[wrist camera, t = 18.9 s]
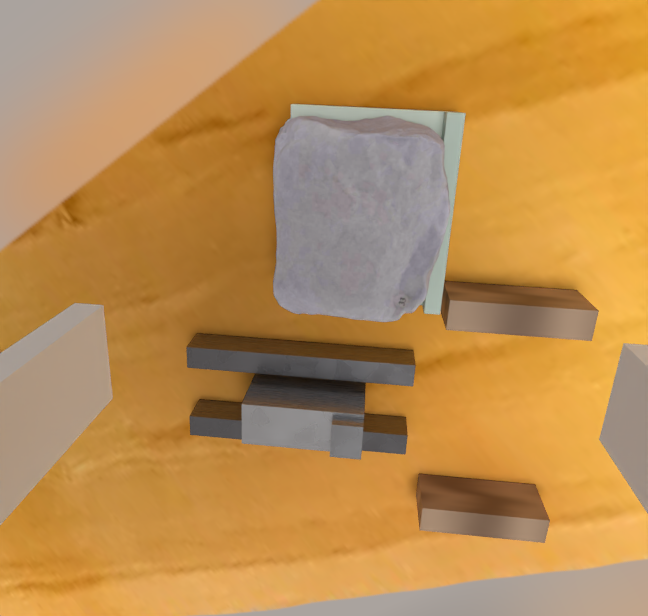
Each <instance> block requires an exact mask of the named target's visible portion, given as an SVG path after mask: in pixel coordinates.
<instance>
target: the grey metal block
mask: <svg viewBox="0 0 648 616" xmlns="http://www.w3.org/2000/svg"><path fill="white" fill-rule="evenodd" d="M365 384H366V382H355V381H343V380H331V379H319V378H307V377H295V376H283V375H271V374H259V373H255V375H254V378H253V380H252V382H251V384H250V386H249V389H248V391H247V393H246V395H245V398H244V400H243V402H242V443H244V444H255V445H266V446H277V447H287V448H298V449H309V450H320V451H330V457H339V458H350V459H361V451H362V439H363V425H364V406H365Z"/></svg>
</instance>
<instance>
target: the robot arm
mask: <svg viewBox="0 0 648 616" xmlns="http://www.w3.org/2000/svg"><path fill="white" fill-rule="evenodd" d="M112 399H113V396H112V386H111V376H110V366H109V356H108V346H107V336H106V326H105V316H104V306H103V305H95V304H81V303H74V304H73V305H71V306H70V307H68V308H67V309H65V310H64V311H62V312H61V313H59V314H58V315H56V316H55V317H53V318H52V319H50V320H49V321H47V322H46V323H45V324H43V325H42V326H40V327H39V328H37V329H36V330H34V331H33V332H31V333H30V334H28V335H27V336H25V337H24V338H22V339H21V340H19V341H18V342H16V343H15V344H13V345H12V346H10V347H9V348H7V349H6V350H4V351H3V352H1V353H0V525H1V524H2V523H3V522H4V521H5V519H6V518H7V517H8V516H9V515H10V514H11V513H12V512H13V510H14V509H15V508H16V507H17V506H18V505H19V504H20V502H21V501H22V500H23V499H24V498H25V497H26V496H27V495H28V493H29V492H30V491H31V490H32V489H33V488H34V487H35V486H36V484H37V483H38V482H39V481H40V480H41V479H42V478H43V476H44V475H45V474H46V473H47V472H48V471H49V470H50V469H51V467H52V466H53V465H54V464H55V463H56V462H57V461H58V460H59V458H60V457H61V456H62V455H63V454H64V453H65V452H66V451H67V449H68V448H69V447H70V446H71V445H72V444H73V443H74V441H75V440H76V439H77V438H78V437H79V436H80V435H81V434H82V432H83V431H84V430H85V429H86V428H87V427H88V426H89V425H90V423H91V422H92V421H93V420H94V419H95V418H96V417H97V415H98V414H99V413H100V412H101V411H102V410H103V409H104V408H105V406H106V405H107V404H108V403H109V402H110V401H111V400H112ZM599 440H600V441H601V443H602V445H603V446H604V448H605V449H606V451H607V452H608V454H609V455H610V457H611V458H612V460H613V461H614V463H615V464H616V466H617V467H618V469H619V470H620V472H621V474H622V475H623V477H624V478H625V480H626V481H627V483H628V484H629V486H630V487H631V489H632V490H633V492H634V493H635V495H636V496H637V498H638V499H639V501H640V503H641V504H642V506H643V507H644V509H645V510H646V512H647V513H648V345H639V344H626V343H624V344H623V348H622V351H621V355H620V359H619V363H618V367H617V371H616V375H615V379H614V383H613V387H612V391H611V395H610V399H609V403H608V407H607V411H606V415H605V419H604V423H603V427H602V431H601V435H600V439H599Z"/></svg>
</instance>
